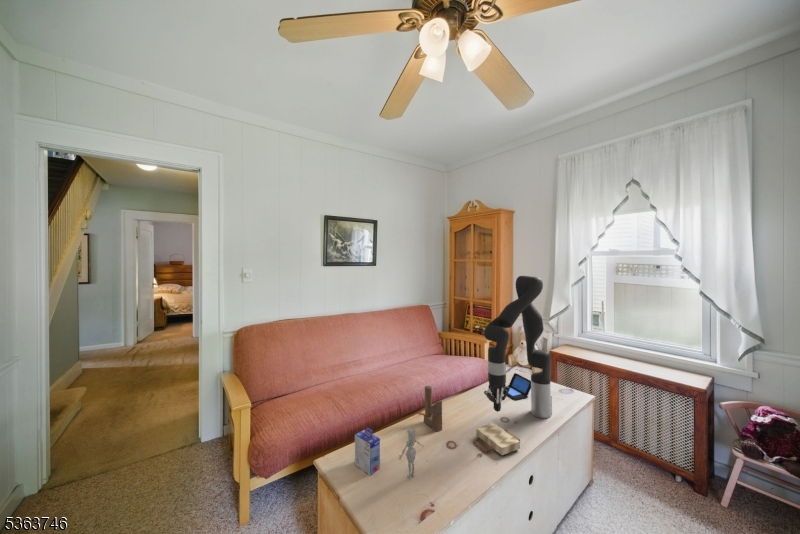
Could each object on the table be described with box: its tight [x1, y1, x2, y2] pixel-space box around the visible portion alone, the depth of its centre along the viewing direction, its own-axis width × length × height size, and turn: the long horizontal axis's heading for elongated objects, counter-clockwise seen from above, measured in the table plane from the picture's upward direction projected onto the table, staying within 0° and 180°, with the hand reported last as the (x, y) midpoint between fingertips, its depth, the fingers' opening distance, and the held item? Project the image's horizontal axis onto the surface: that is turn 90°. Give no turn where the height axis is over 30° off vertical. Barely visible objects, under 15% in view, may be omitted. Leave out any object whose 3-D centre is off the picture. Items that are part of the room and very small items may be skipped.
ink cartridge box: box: [354, 427, 381, 476], centre depth 115 cm, size 10×6×14 cm, turn 47°
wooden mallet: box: [423, 385, 443, 432], centre depth 143 cm, size 4×11×18 cm, turn 30°
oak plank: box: [475, 422, 521, 456], centre depth 128 cm, size 10×3×16 cm
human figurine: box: [398, 428, 424, 480], centre depth 109 cm, size 12×4×18 cm, turn 128°
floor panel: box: [473, 429, 521, 455], centre depth 129 cm, size 19×8×1 cm, turn 115°
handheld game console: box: [506, 372, 531, 401], centre depth 176 cm, size 16×13×9 cm
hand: (497, 410), depth 128 cm, fingers closed
